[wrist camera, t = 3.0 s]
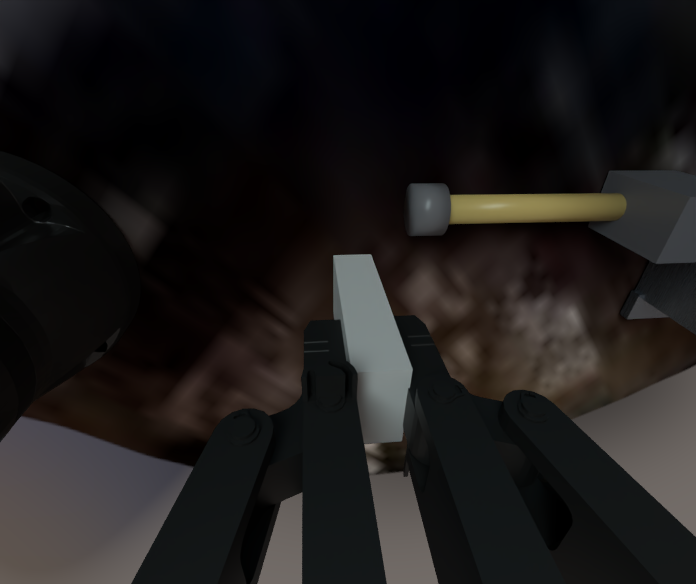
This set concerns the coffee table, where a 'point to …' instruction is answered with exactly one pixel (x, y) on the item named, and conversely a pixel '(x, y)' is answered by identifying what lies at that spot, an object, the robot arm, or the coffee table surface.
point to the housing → (665, 294)
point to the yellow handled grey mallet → (578, 211)
